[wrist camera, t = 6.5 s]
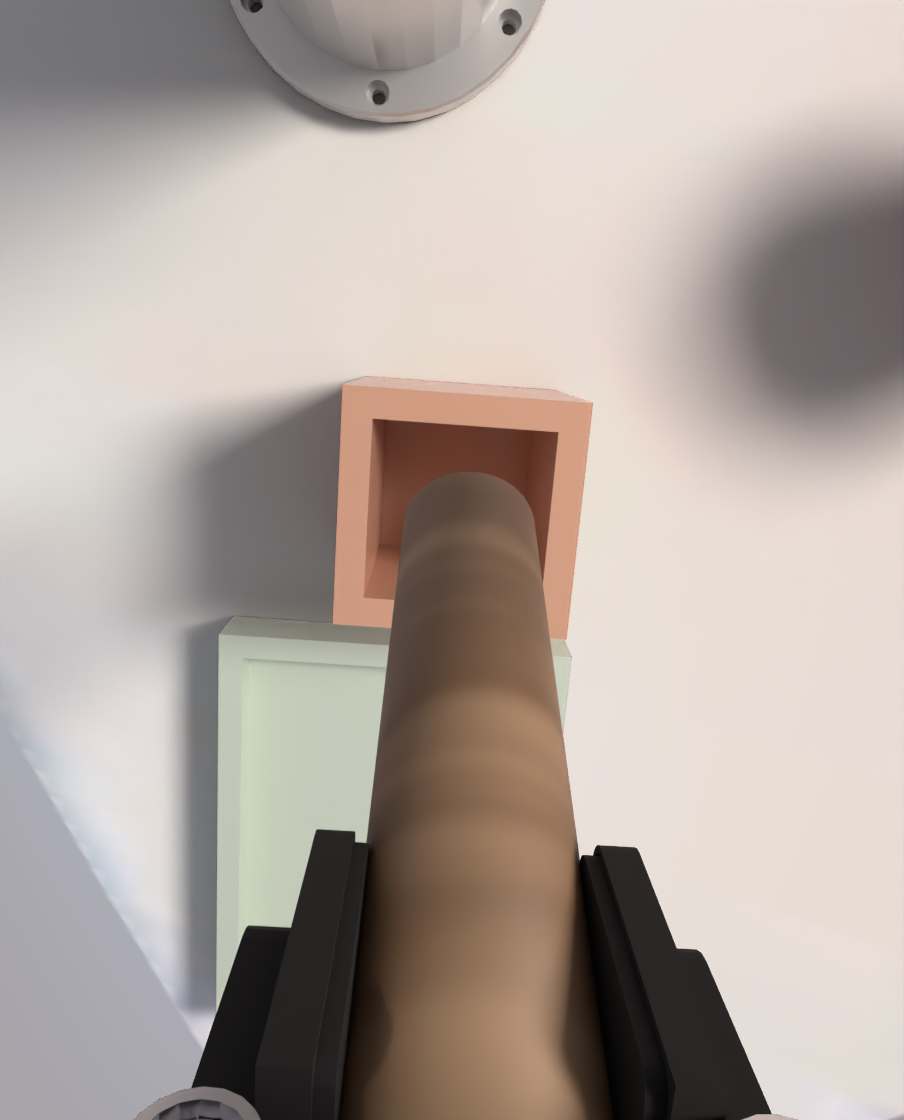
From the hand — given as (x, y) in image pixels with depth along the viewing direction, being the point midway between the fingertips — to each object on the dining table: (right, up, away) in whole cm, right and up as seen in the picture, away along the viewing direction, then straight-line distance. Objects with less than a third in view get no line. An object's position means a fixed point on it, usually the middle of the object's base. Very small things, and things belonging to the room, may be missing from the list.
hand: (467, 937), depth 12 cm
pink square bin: (0, +9, +25) cm, 26 cm away
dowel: (0, +4, +9) cm, 9 cm away
